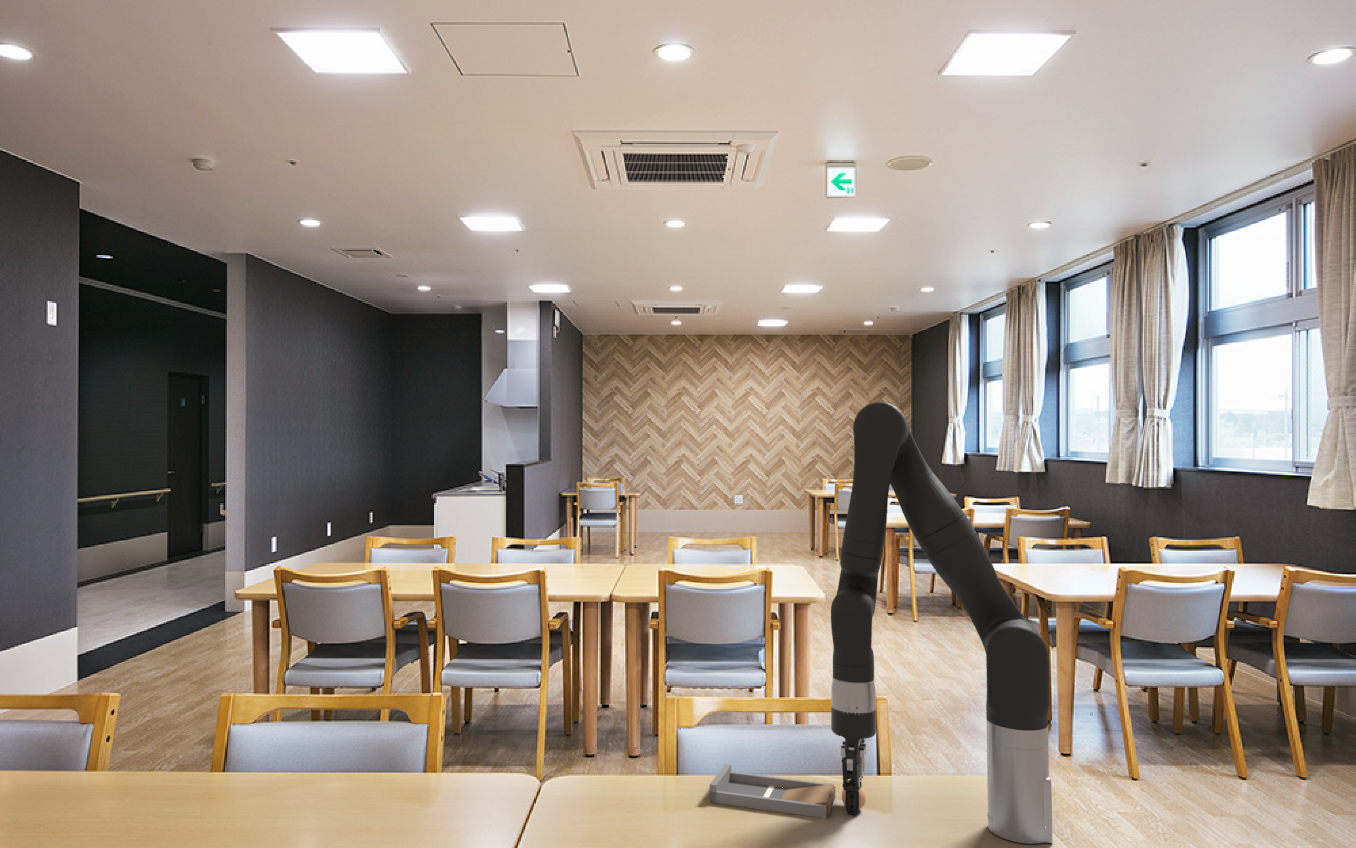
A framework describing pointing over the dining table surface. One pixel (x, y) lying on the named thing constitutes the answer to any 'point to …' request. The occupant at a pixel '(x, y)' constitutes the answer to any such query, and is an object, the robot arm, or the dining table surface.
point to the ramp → (812, 795)
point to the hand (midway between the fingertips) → (853, 807)
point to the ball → (861, 798)
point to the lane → (761, 793)
